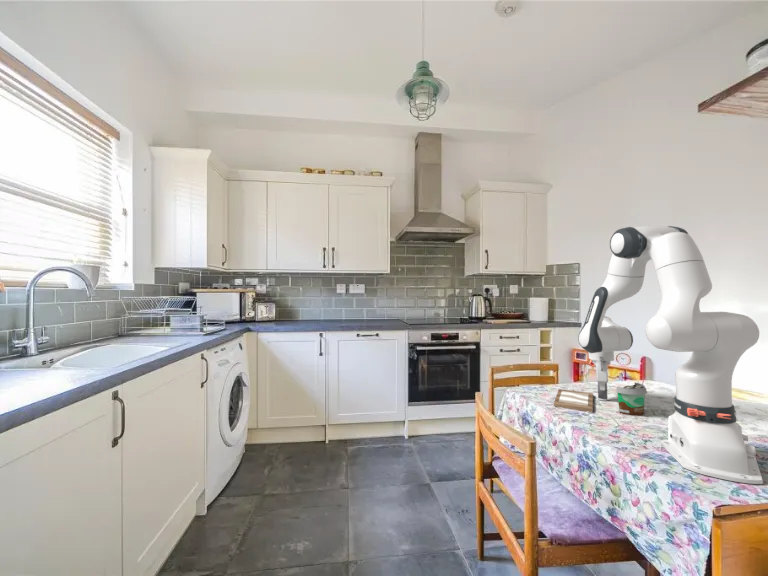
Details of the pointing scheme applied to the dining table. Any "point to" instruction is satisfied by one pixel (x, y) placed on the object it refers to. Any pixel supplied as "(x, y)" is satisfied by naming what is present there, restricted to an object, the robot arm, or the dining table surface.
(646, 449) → the dining table surface
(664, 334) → the robot arm
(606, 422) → the dining table surface
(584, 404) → the writing board
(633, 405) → the food container
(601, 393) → the marker
